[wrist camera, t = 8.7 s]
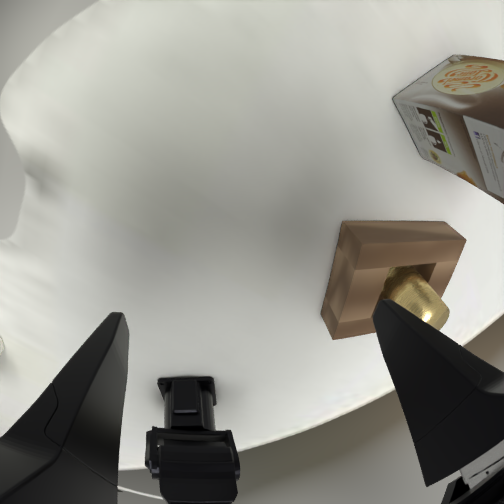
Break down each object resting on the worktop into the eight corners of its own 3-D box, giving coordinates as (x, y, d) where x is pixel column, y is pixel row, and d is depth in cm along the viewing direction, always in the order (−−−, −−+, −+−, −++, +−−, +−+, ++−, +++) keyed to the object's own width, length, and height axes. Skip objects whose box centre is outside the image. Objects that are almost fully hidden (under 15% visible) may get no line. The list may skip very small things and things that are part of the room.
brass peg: (395, 281, 27) (436, 337, 21) (363, 285, 27) (402, 347, 20) (408, 248, 25) (456, 302, 19) (374, 250, 25) (422, 310, 18)
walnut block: (414, 299, 30) (429, 320, 27) (320, 313, 28) (332, 340, 25) (444, 221, 24) (466, 239, 21) (342, 220, 22) (362, 243, 19)
